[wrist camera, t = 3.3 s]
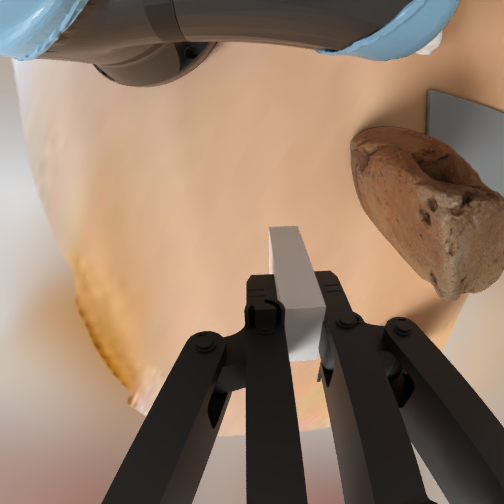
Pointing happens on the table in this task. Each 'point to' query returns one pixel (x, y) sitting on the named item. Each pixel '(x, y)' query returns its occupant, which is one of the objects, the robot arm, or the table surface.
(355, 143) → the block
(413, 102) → the table surface
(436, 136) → the mat
